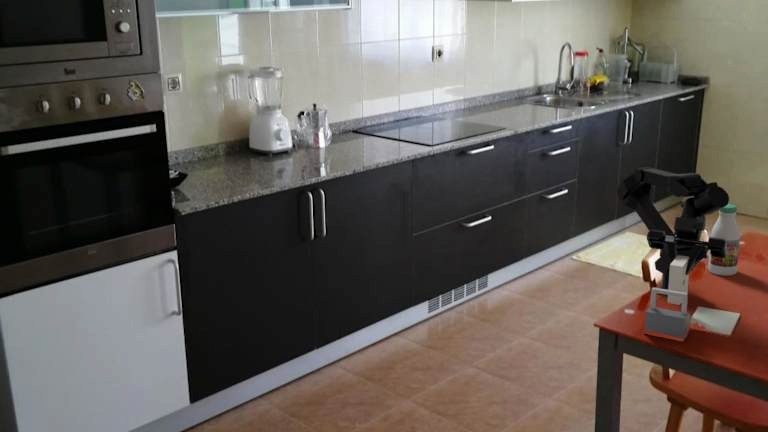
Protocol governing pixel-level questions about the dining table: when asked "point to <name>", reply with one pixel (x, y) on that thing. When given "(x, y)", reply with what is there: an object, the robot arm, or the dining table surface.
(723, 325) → the mat
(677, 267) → the white rectangular block
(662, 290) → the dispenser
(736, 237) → the milk bottle
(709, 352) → the dining table surface
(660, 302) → the dining table surface
